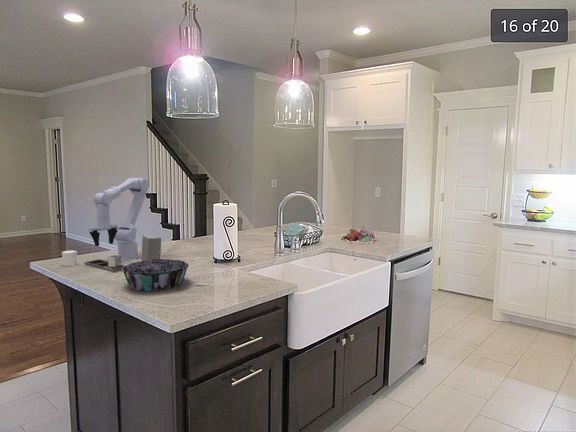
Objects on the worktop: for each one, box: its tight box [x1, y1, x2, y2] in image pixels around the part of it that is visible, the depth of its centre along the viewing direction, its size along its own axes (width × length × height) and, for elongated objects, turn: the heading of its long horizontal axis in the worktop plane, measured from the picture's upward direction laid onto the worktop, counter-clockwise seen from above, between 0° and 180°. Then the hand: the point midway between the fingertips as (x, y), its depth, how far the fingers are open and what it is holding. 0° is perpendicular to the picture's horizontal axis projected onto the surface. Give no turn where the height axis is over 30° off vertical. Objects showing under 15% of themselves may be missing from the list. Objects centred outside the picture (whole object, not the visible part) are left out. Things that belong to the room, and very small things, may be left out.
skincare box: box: [140, 234, 162, 261], centre depth 205 cm, size 8×7×16 cm
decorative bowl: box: [121, 258, 190, 293], centre depth 179 cm, size 26×28×10 cm
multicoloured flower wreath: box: [342, 226, 376, 242], centre depth 296 cm, size 25×24×9 cm
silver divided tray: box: [84, 258, 126, 274], centre depth 205 cm, size 8×24×2 cm, turn 56°
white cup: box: [61, 249, 78, 267], centre depth 206 cm, size 7×7×7 cm
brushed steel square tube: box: [107, 254, 122, 269], centre depth 200 cm, size 4×4×6 cm
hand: (104, 244), depth 209 cm, fingers open, 7 cm apart
